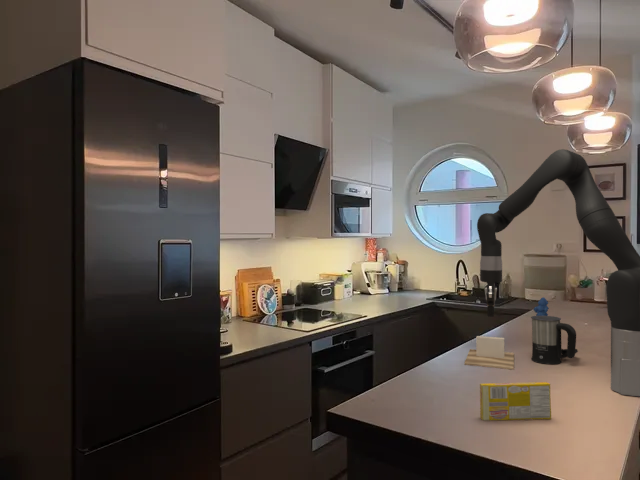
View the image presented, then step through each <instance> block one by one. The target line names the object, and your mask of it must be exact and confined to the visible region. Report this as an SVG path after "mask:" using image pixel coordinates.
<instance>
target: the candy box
mask: <svg viewBox="0 0 640 480" xmlns="http://www.w3.org/2000/svg"><path fill="white" fill-rule="evenodd" d="M479 397H480V398H479V403H480V408H479V409H480V411H479V412H480V419H481V420H482V421H517V420H518V421H521V420H522V421H526V420H525V419H533V420H552V408H551V407H552V406H551V404H552V403H551V383H549V382H547V381H544V382H537V381H535V382H500V383H499V382H498V383H497V382H496V383H493V382H491V383H479Z"/></svg>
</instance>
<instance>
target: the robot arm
mask: <svg viewBox="0 0 640 480" xmlns="http://www.w3.org/2000/svg"><path fill="white" fill-rule="evenodd" d="M555 180H559V181H562V182H564V184H565V185H566V186H567V188H568V189H569V191H570V192H571V194H572V196H573V198H574V202H575V214H576V219H577V221H578V223H579V226H580V227H581V229H582V231H583V233H584V235H585V237H586V238H587V239H588V240H589V242H591V243H592V244H593V245H594V246H595V247H596V248H597V249H598V250H600V251H601V252H602V253H603V254H604V255H605V256H606V257H608V258H609V259H610V261H612V263H613V264H614V265H615V267H616V269H617V270H615V271H613V272H612V273H610V275H609V276H608V278H607V281H606V305H607V306H606V307H607V308H606V309H607V315H608V318H609V320H610V390H612V391H614V392H616V393H617V394H618V393H619V395H623V396H633V397H640V254H639V253H638V252H637V250H636V248H635V247H634V245H633V243H632V241H631V240H630V238H629V237H628V235H627V233H626V232H625V230H624V228H623V227H622V225H621V223H620V221H619V219H618V217H617V216H616V213H614V211H613V209H612V208H611V206H610V205H609V203H608V201H607V199H606V198H605V197H604V195H603V193H602V192H601V190H600V189H599V187H598V185H597V183H596V181H595V179H594V177H593V174H592V171H591V170H590V168H589V165H588V163H587V161H586V159H585V158H584V157H583V156H582V155H581V154H579V153H576V152H574V151H571V150H568V149H564V148H562V149H558V150H555V151H554V152H552V153H551V154H550V155H549V156H547V158H546V159H545V160H544V161H543V162H542V163H541V165H539V166H538V168H536V170H535V171H534V172H533V173H532V174H531V175H530V177H529V178H528V179H526V181H524V183H523V184H522V185H521V186H519V188H518V189H515V191H514V192H513V193H511V194H510V195H509V196H507V197H506V198H505V199H504V200H502V201H501V202H500V204H499V205H498V209H497V211H496V212H494V213H493V212H492V213H487V212H486V213H482V214H481V215H480V216H479V217H478V220H477V223H476V229H477V234H478V239H479V242H480V261H479V265H480V266H479V280H480V282H482V283H486V286H485V287H484V293H485V300H486V306H487V317H489V318H491V317H492V318H493V317H494V316H495V306H496V300H497V291H498V287H497V286H496V285H495V283H497V284H498V283H502V282H503V259H502V258H503V257H502V255H503V254H502V253H503V251H502V249H503V247H502V242H501V240H499V239H497V236H496V234H497V233H501V232H502V231H503V230H505V229H506V228H508V226H509V225H511V223H512V222H513V221H514V219H515V218H516V217H518V216H519V215H521V214H522V213H524V212H525V211H526V210H527V209H528V208H530V207H531V205H533V203H534V202H535V200H536V198H537V196H538V195H539V193H540V192H541V190H543V189H544V187H546V186H548V185H549V184H551V183H552V182H554V181H555Z"/></svg>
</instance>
